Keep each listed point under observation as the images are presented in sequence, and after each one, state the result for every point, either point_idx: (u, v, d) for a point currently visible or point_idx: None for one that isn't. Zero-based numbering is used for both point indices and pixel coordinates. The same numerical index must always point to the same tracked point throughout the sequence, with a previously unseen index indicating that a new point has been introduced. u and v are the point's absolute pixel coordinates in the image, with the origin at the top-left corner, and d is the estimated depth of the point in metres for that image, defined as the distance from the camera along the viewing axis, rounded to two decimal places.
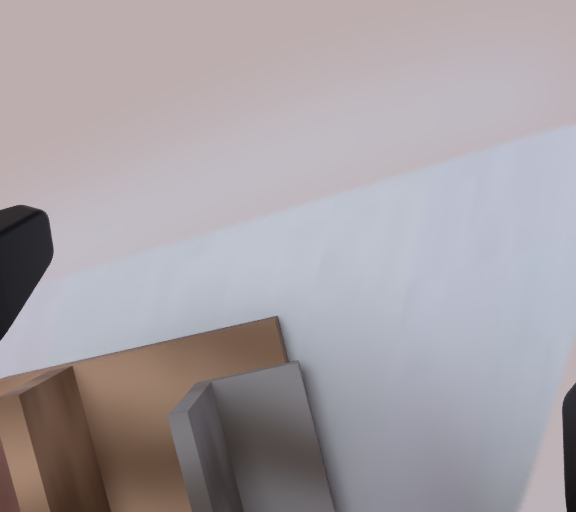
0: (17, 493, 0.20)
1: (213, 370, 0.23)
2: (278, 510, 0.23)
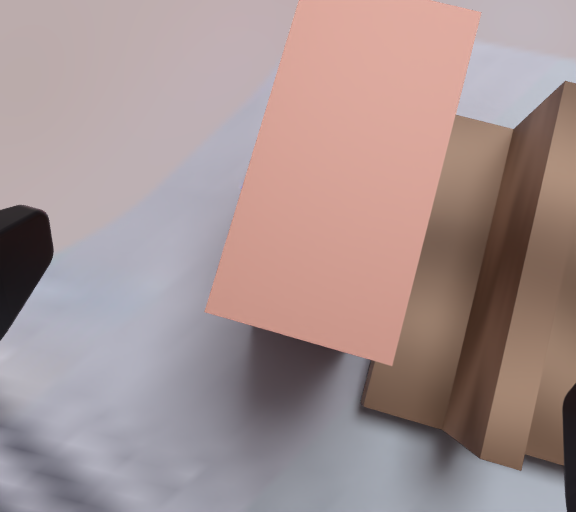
0: (543, 193, 0.15)
1: None
2: None
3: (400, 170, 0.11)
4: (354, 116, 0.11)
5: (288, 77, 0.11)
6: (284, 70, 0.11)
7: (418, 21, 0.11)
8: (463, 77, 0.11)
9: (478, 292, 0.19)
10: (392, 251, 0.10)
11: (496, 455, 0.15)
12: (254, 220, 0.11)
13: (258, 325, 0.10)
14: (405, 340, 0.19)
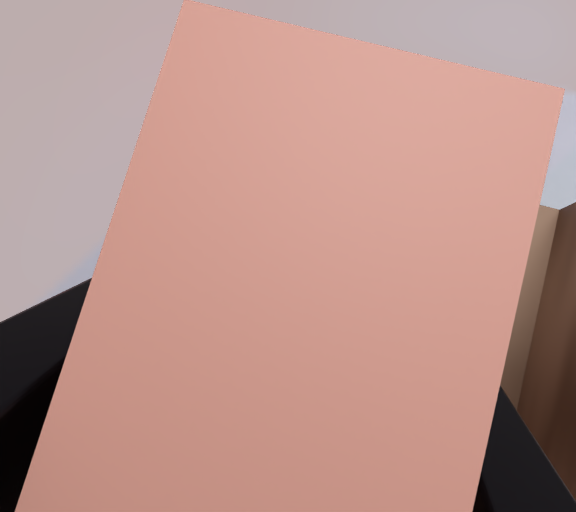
0: None
1: None
2: None
3: (383, 468, 0.05)
4: (280, 331, 0.05)
5: (134, 238, 0.05)
6: (126, 221, 0.05)
7: (424, 111, 0.05)
8: (528, 241, 0.05)
9: None
10: None
11: None
12: None
13: None
14: None
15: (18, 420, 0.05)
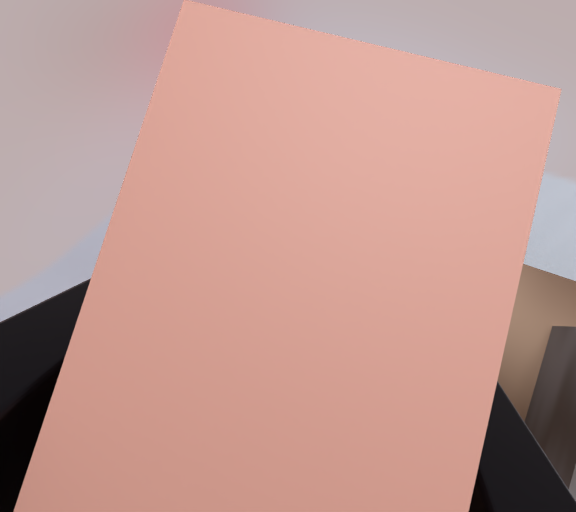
0: None
1: None
2: None
3: (381, 464, 0.05)
4: (278, 330, 0.05)
5: (133, 236, 0.05)
6: (126, 219, 0.05)
7: (423, 110, 0.05)
8: (525, 240, 0.05)
9: None
10: None
11: None
12: None
13: None
14: None
15: (18, 420, 0.05)
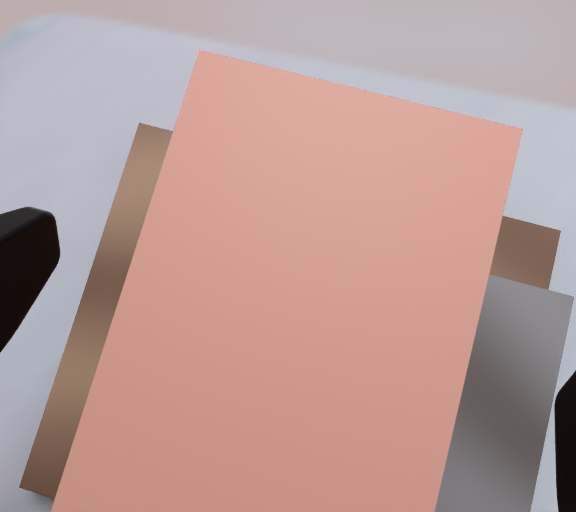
0: None
1: None
2: (445, 488, 0.14)
3: (367, 448, 0.05)
4: (280, 335, 0.06)
5: (157, 255, 0.06)
6: (150, 241, 0.06)
7: (404, 147, 0.06)
8: (490, 259, 0.06)
9: None
10: None
11: None
12: None
13: None
14: (75, 404, 0.16)
15: None
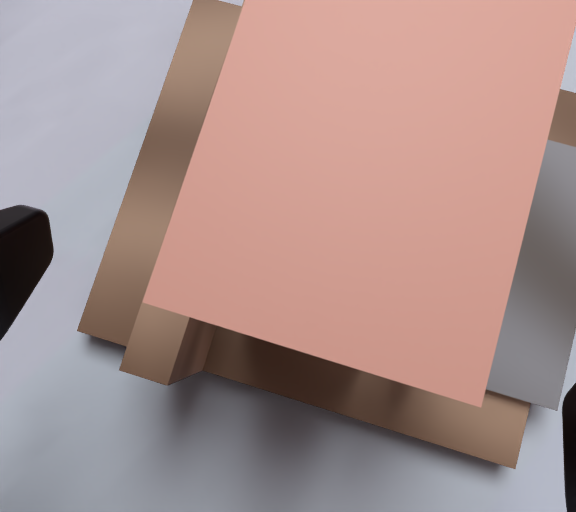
0: None
1: None
2: None
3: (494, 61, 0.06)
4: None
5: None
6: None
7: None
8: None
9: None
10: (480, 200, 0.06)
11: (138, 366, 0.12)
12: (235, 142, 0.06)
13: (238, 328, 0.06)
14: (132, 255, 0.16)
15: None
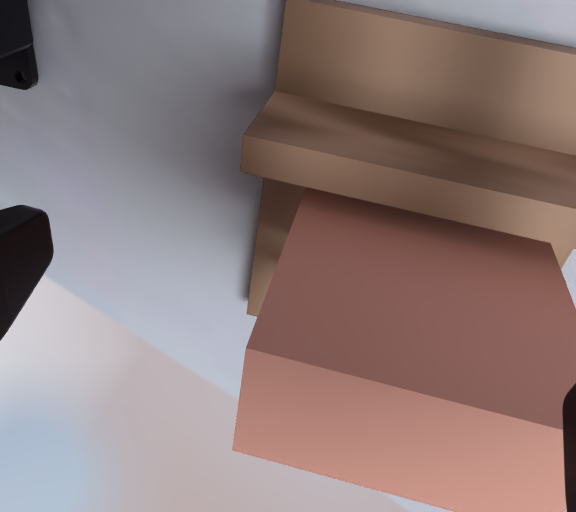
0: (529, 202, 0.14)
1: None
2: None
3: (390, 474, 0.12)
4: (444, 457, 0.12)
5: (494, 421, 0.10)
6: (503, 419, 0.10)
7: (539, 504, 0.12)
8: None
9: (422, 127, 0.17)
10: (320, 462, 0.13)
11: (249, 150, 0.15)
12: (339, 387, 0.11)
13: (242, 383, 0.11)
14: (366, 44, 0.16)
15: None
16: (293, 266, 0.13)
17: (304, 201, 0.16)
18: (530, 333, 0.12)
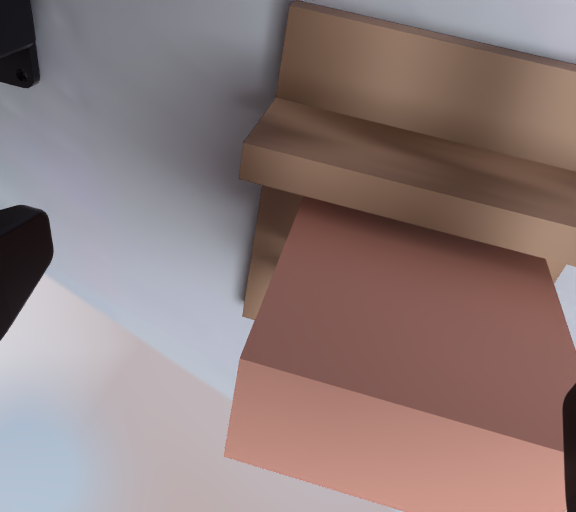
0: (524, 217, 0.14)
1: None
2: None
3: (379, 485, 0.12)
4: (433, 470, 0.12)
5: (483, 437, 0.11)
6: (492, 435, 0.11)
7: None
8: None
9: (422, 138, 0.17)
10: (311, 470, 0.13)
11: (248, 158, 0.15)
12: (331, 399, 0.11)
13: (235, 392, 0.12)
14: (368, 54, 0.16)
15: None
16: (289, 276, 0.13)
17: (302, 209, 0.16)
18: (522, 349, 0.13)
